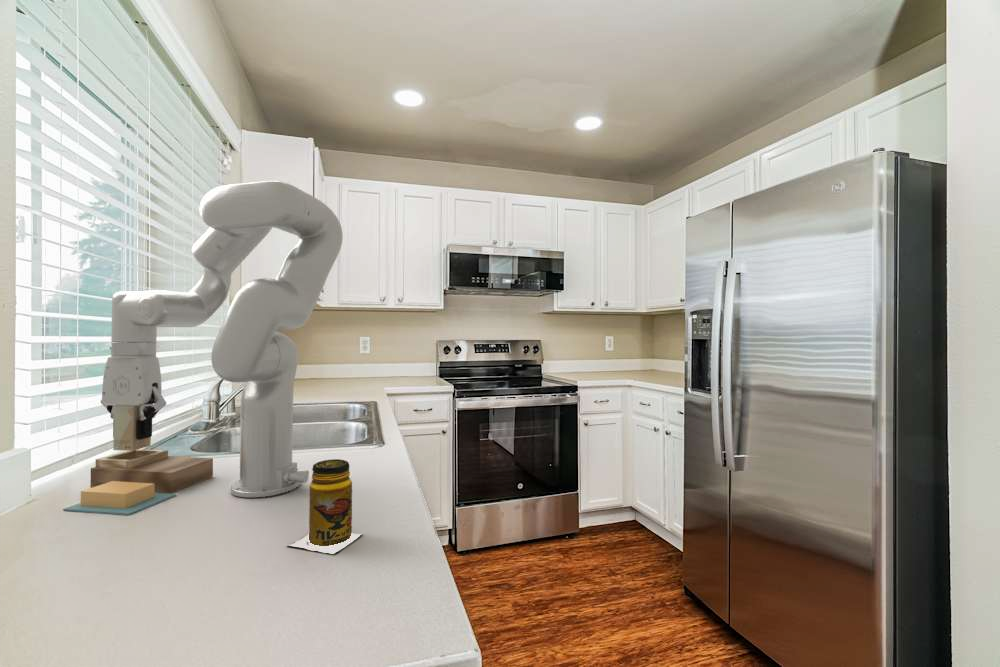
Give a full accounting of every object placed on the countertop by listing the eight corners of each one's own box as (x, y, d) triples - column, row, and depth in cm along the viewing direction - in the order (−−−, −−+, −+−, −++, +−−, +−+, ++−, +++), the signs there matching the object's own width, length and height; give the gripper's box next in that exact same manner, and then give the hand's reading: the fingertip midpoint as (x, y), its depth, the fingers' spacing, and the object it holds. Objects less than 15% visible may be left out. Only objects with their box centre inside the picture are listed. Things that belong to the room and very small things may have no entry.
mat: (176, 495, 92) (176, 494, 92) (128, 515, 82) (128, 513, 82) (116, 491, 93) (116, 490, 93) (63, 510, 83) (63, 508, 83)
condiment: (334, 556, 68) (335, 471, 68) (285, 547, 70) (286, 465, 70) (364, 535, 75) (365, 458, 75) (318, 528, 77) (319, 454, 77)
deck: (212, 476, 104) (213, 451, 104) (171, 493, 93) (171, 465, 93) (139, 472, 106) (139, 447, 106) (90, 488, 95) (90, 460, 95)
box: (132, 451, 98) (133, 397, 98) (112, 450, 98) (112, 396, 98) (152, 445, 103) (152, 393, 103) (132, 444, 103) (133, 393, 103)
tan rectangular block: (125, 494, 84) (125, 508, 84) (154, 483, 90) (154, 496, 90) (80, 491, 85) (80, 505, 85) (112, 481, 91) (112, 494, 91)
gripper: (81, 350, 98) (79, 439, 98) (154, 352, 95) (153, 443, 95) (115, 349, 105) (114, 432, 105) (184, 351, 103) (183, 435, 103)
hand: (132, 436), depth 100 cm, fingers closed on box, 4 cm apart
